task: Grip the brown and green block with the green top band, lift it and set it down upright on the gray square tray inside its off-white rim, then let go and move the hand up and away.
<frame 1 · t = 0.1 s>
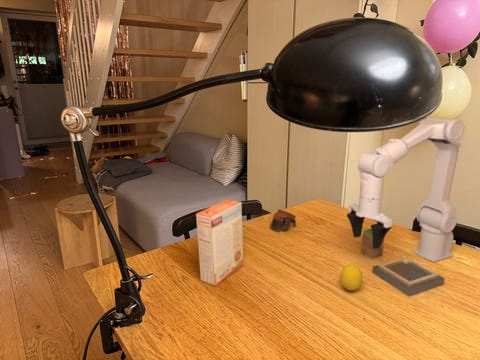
hand: (366, 241, 98), 10 cm above the table, tool pointing down, fingers open, 7 cm apart
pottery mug: (283, 229, 132), on the table
gray square tray: (406, 278, 98), on the table
lemon: (350, 291, 93), on the table
cracker box: (222, 273, 102), on the table
brown and green block: (371, 254, 112), on the table
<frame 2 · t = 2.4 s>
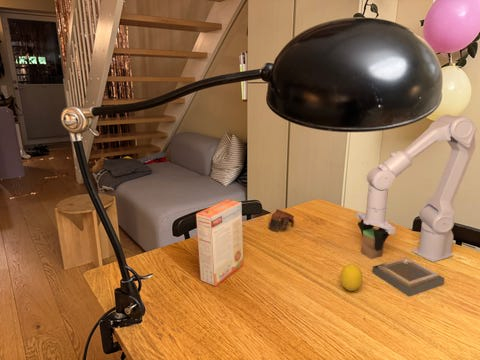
hand: (372, 246, 111), 3 cm above the table, tool pointing down, fingers closed on brown and green block, 4 cm apart
brown and green block: (371, 254, 112), on the table, touching gripper
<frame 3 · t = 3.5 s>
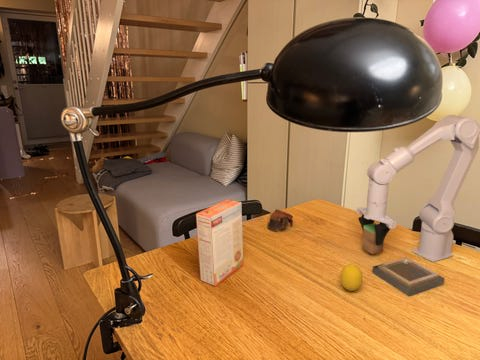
hand: (373, 241, 110), 5 cm above the table, tool pointing down, fingers closed on brown and green block, 4 cm apart
brown and green block: (372, 249, 111), point 2 cm above the table, touching gripper
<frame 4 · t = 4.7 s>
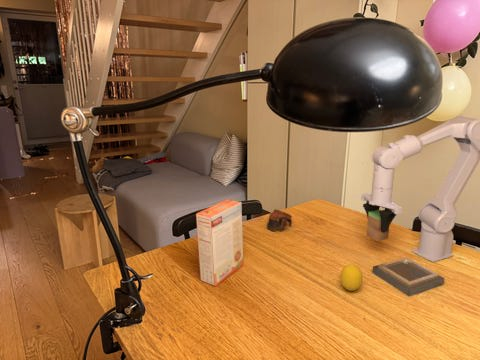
hand: (378, 228, 107), 10 cm above the table, tool pointing down, fingers closed on brown and green block, 4 cm apart
brown and green block: (377, 236, 108), point 7 cm above the table, touching gripper
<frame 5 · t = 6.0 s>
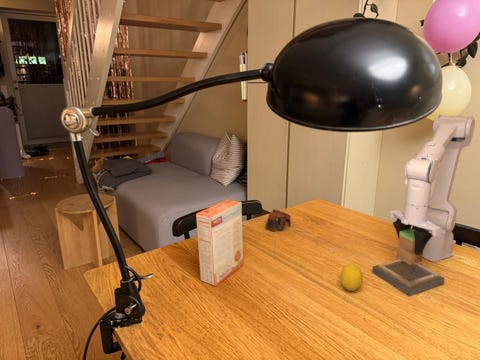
hand: (410, 249, 95), 9 cm above the table, tool pointing down, fingers closed on brown and green block, 4 cm apart
brown and green block: (409, 259, 96), point 6 cm above the table, touching gripper
when the fingers open (6 cm above the table, at t = 7.1 s): brown and green block stays where it is, resting on gray square tray.
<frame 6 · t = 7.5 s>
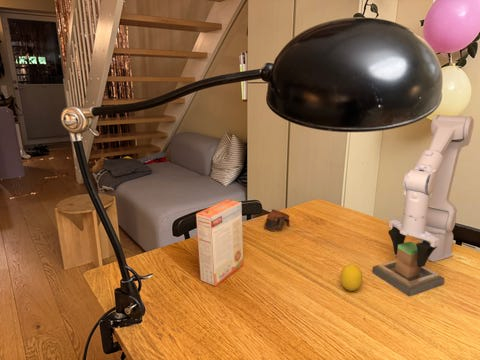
hand: (409, 259, 96), 6 cm above the table, tool pointing down, fingers open, 7 cm apart
brown and green block: (407, 272, 97), point 2 cm above the table, touching gray square tray
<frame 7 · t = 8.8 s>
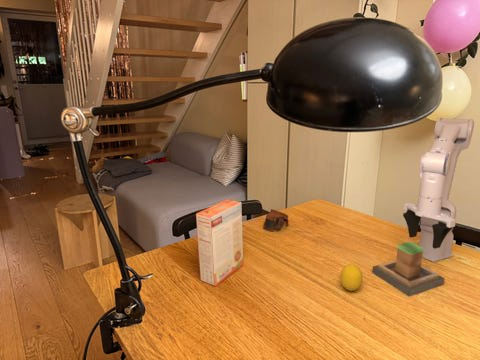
hand: (424, 241, 97), 10 cm above the table, tool pointing down, fingers open, 7 cm apart
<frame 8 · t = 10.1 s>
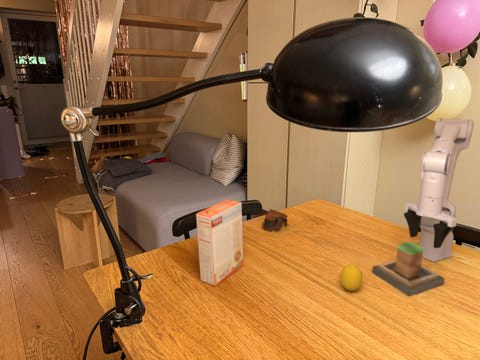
hand: (424, 241, 97), 10 cm above the table, tool pointing down, fingers open, 7 cm apart
at the end: brown and green block inside the target area on the gray square tray (0.0 cm from its centre), point 2.0 cm above the gray square tray's base; brown and green block tilted 0°; the gripper is holding nothing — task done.
